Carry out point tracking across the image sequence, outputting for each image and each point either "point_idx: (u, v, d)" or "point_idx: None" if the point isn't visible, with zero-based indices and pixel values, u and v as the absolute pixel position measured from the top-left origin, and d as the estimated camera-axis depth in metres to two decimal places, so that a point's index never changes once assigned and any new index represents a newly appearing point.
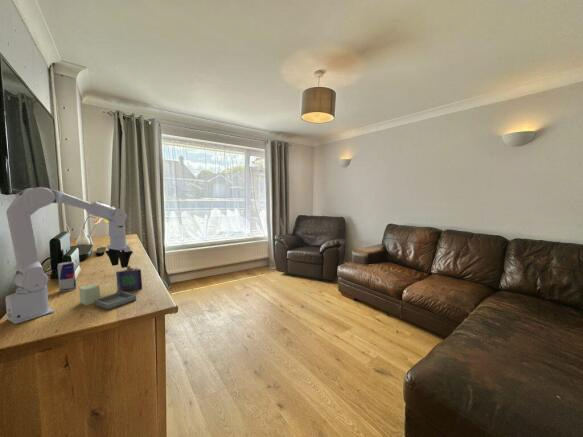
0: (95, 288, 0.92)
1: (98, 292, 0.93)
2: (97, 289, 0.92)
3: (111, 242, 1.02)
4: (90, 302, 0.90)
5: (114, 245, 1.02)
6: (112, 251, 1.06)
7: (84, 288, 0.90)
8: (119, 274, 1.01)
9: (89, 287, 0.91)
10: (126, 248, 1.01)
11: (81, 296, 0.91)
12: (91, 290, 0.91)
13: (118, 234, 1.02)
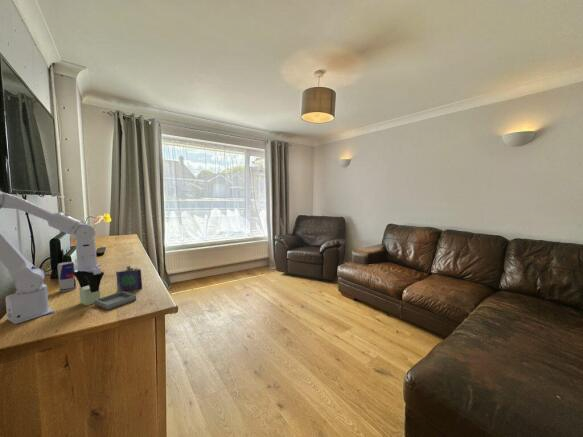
0: None
1: (98, 292, 0.93)
2: None
3: (78, 263, 0.88)
4: (90, 302, 0.90)
5: (82, 266, 0.88)
6: (81, 272, 0.93)
7: (84, 288, 0.90)
8: (119, 274, 1.01)
9: None
10: (95, 270, 0.87)
11: (81, 296, 0.91)
12: None
13: (83, 254, 0.88)
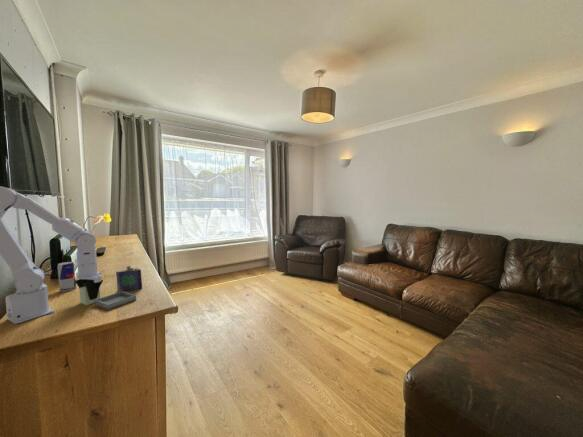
0: None
1: (98, 292, 0.93)
2: None
3: (79, 271, 0.89)
4: (90, 302, 0.90)
5: (82, 275, 0.89)
6: (83, 281, 0.92)
7: (84, 288, 0.90)
8: (119, 274, 1.01)
9: None
10: (96, 278, 0.88)
11: (81, 296, 0.91)
12: None
13: (84, 262, 0.88)
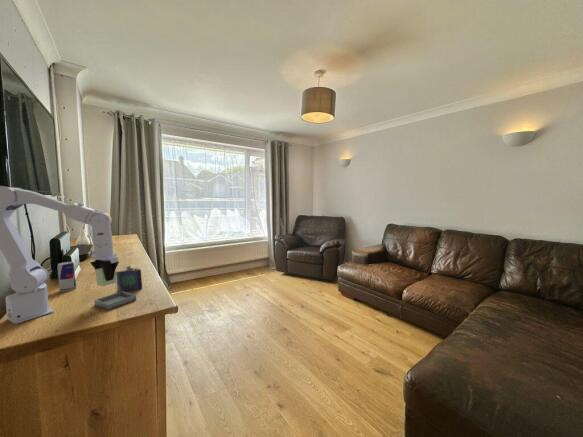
0: None
1: (114, 274, 0.92)
2: None
3: (95, 252, 0.87)
4: (107, 283, 0.89)
5: (99, 255, 0.87)
6: (99, 262, 0.91)
7: (100, 269, 0.89)
8: (119, 274, 1.01)
9: None
10: (113, 259, 0.87)
11: (97, 277, 0.90)
12: None
13: (97, 243, 0.87)
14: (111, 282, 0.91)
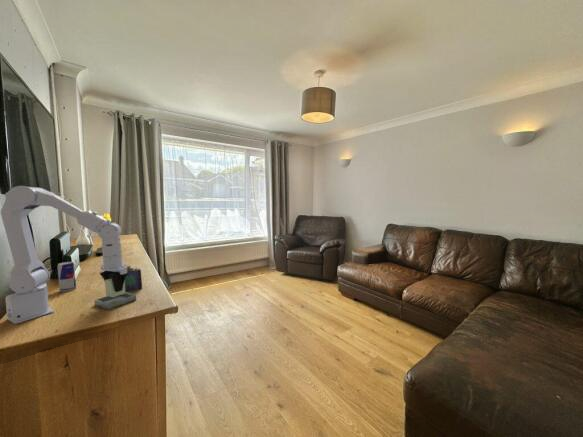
0: None
1: (123, 284, 0.91)
2: None
3: (105, 263, 0.87)
4: (116, 294, 0.89)
5: (108, 266, 0.87)
6: (108, 273, 0.91)
7: (110, 280, 0.89)
8: None
9: None
10: (122, 270, 0.86)
11: (106, 288, 0.89)
12: None
13: (106, 254, 0.87)
14: (120, 293, 0.90)
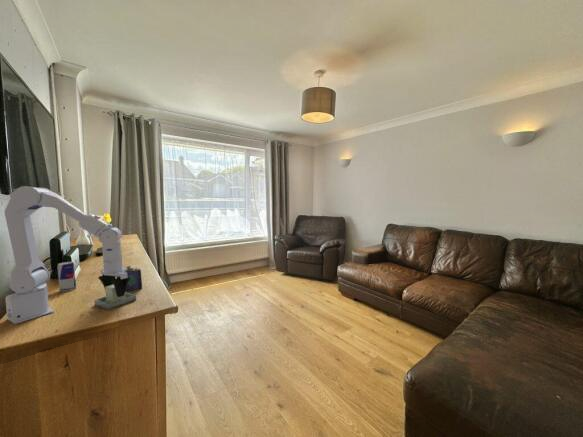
0: None
1: None
2: None
3: (105, 267, 0.87)
4: None
5: (108, 271, 0.87)
6: (106, 277, 0.92)
7: (110, 287, 0.89)
8: None
9: None
10: (122, 275, 0.86)
11: (107, 295, 0.90)
12: None
13: (107, 258, 0.87)
14: (120, 299, 0.91)
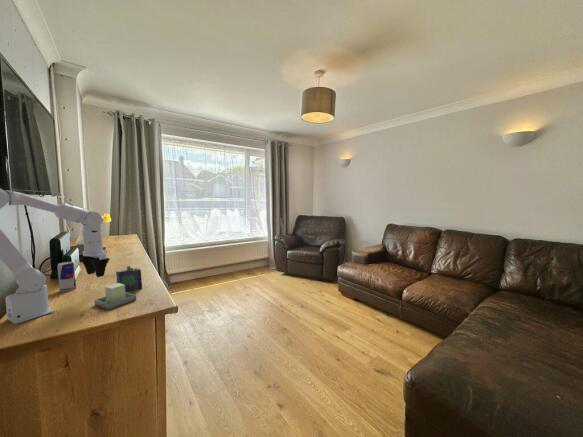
0: (121, 287, 0.91)
1: (124, 291, 0.92)
2: (123, 288, 0.91)
3: (85, 248, 0.92)
4: None
5: (88, 252, 0.92)
6: (87, 258, 0.96)
7: (110, 287, 0.89)
8: (119, 274, 1.01)
9: (115, 286, 0.90)
10: (101, 255, 0.91)
11: (107, 295, 0.90)
12: (117, 289, 0.90)
13: (91, 240, 0.92)
14: (120, 299, 0.91)
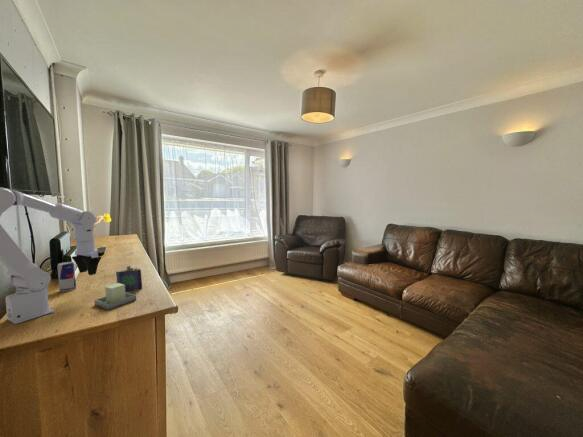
0: (121, 287, 0.91)
1: (124, 291, 0.92)
2: (123, 288, 0.91)
3: (77, 247, 0.94)
4: None
5: (80, 251, 0.94)
6: (80, 257, 0.98)
7: (110, 287, 0.89)
8: (119, 274, 1.01)
9: (115, 286, 0.90)
10: (93, 254, 0.93)
11: (107, 295, 0.90)
12: (117, 289, 0.90)
13: (86, 238, 0.95)
14: (120, 299, 0.91)
